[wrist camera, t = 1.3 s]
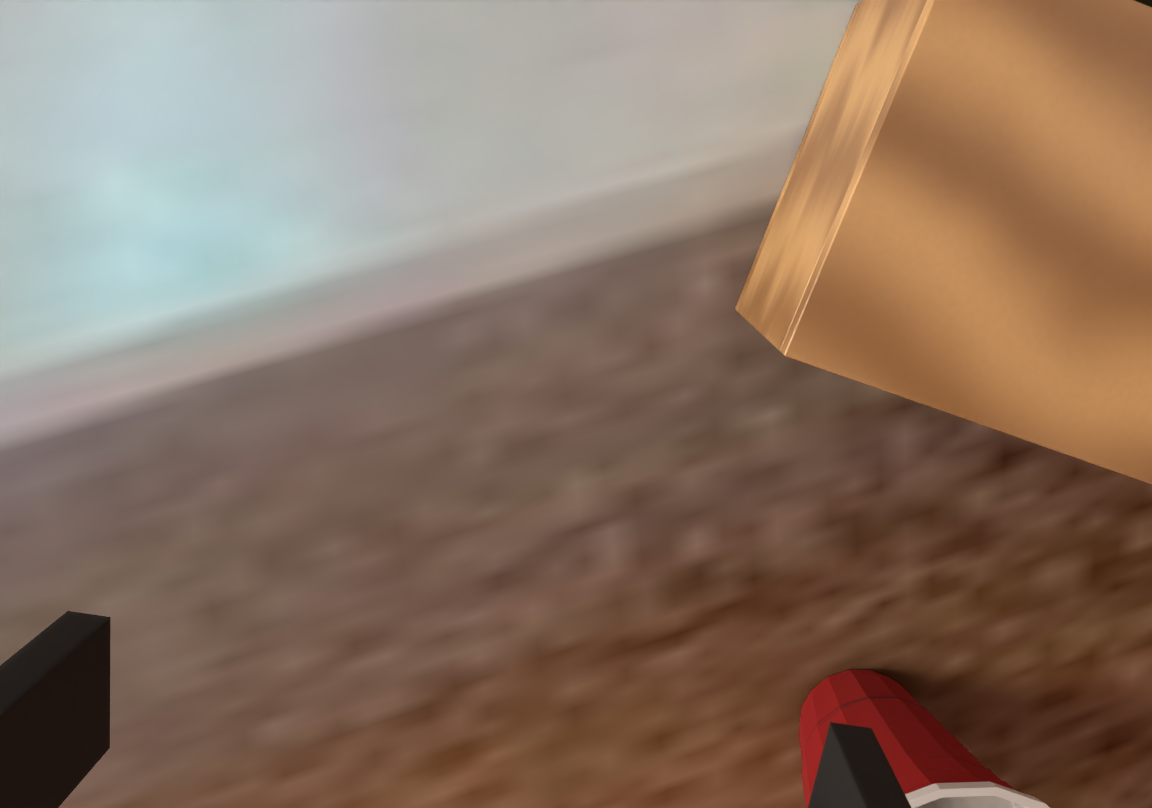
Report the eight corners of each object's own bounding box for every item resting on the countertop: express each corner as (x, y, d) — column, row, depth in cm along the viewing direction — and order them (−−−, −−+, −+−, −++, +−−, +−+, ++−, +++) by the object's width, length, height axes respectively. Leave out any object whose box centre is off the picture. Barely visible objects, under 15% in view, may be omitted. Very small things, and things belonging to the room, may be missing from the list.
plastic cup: (928, 823, 45) (1044, 1048, 33) (730, 785, 44) (777, 999, 33) (995, 645, 42) (1146, 823, 30) (784, 604, 42) (856, 767, 30)
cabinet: (856, 3, 35) (961, -69, 25) (1171, 123, 36) (1397, 101, 26) (734, 309, 38) (783, 355, 28) (1025, 412, 39) (1173, 492, 29)
